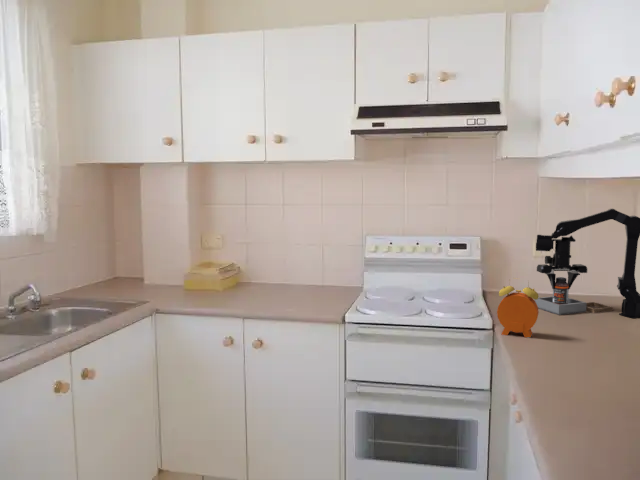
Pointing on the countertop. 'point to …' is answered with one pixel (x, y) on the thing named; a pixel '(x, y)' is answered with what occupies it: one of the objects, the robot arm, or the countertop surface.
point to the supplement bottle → (560, 291)
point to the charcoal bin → (561, 306)
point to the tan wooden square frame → (601, 308)
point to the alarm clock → (518, 310)
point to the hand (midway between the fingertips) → (560, 289)
